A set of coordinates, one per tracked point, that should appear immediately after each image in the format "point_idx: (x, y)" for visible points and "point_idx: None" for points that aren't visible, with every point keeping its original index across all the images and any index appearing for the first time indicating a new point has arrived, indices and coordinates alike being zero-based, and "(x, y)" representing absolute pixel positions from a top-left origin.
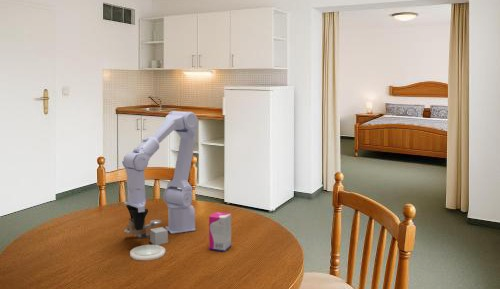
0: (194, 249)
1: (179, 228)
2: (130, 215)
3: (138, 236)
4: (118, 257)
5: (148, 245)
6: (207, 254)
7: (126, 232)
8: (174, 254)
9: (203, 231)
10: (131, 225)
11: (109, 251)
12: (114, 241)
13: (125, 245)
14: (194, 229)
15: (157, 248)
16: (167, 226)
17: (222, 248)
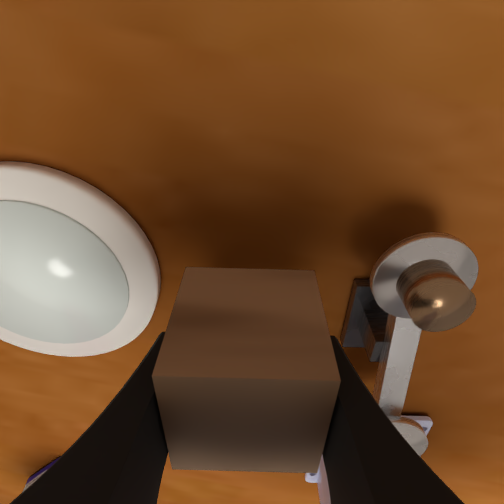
0: (78, 427)
1: (321, 458)
2: (371, 431)
3: (369, 290)
4: (4, 66)
5: (143, 303)
6: (10, 442)
7: (402, 242)
8: (25, 364)
9: (281, 485)
10: (175, 339)
11: (177, 11)
12: (415, 114)
13: (268, 178)
14: (305, 479)
15: (63, 331)
16: (427, 427)
17: (26, 488)
